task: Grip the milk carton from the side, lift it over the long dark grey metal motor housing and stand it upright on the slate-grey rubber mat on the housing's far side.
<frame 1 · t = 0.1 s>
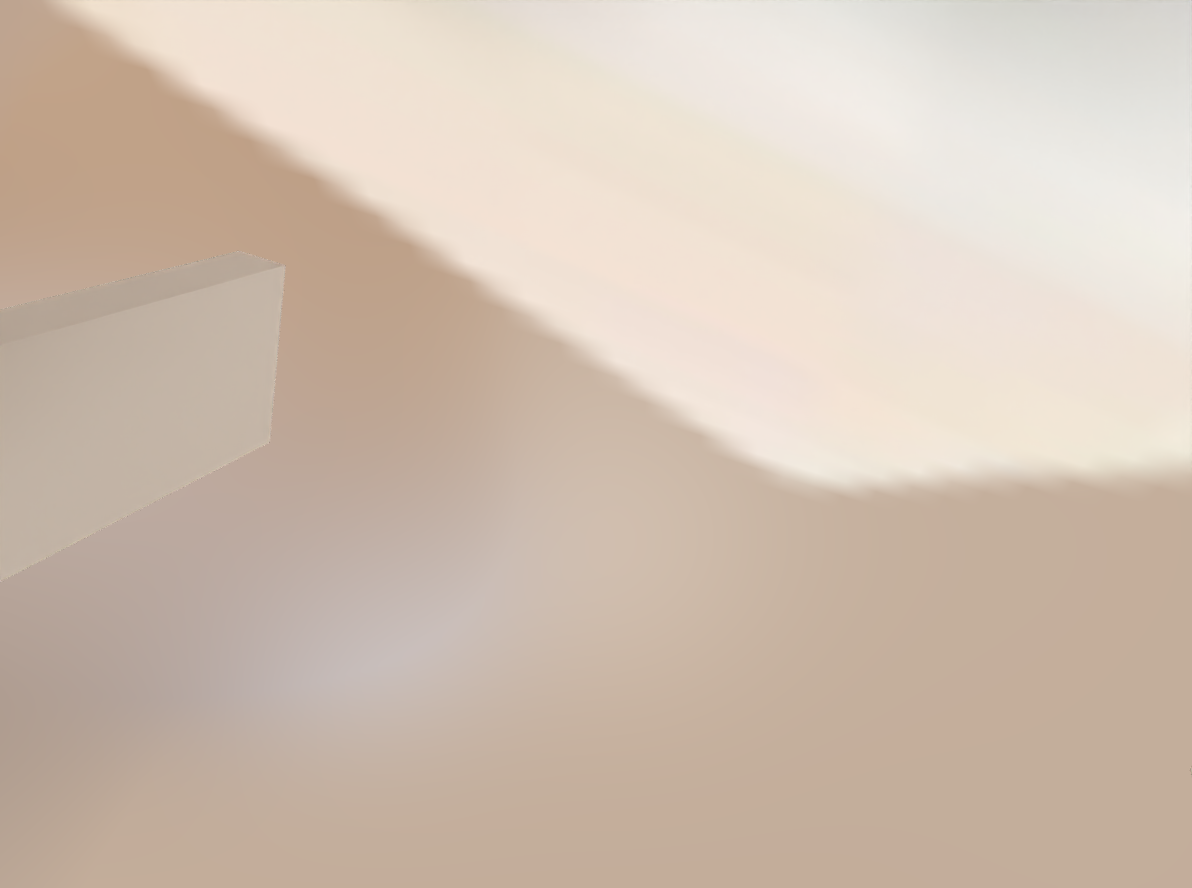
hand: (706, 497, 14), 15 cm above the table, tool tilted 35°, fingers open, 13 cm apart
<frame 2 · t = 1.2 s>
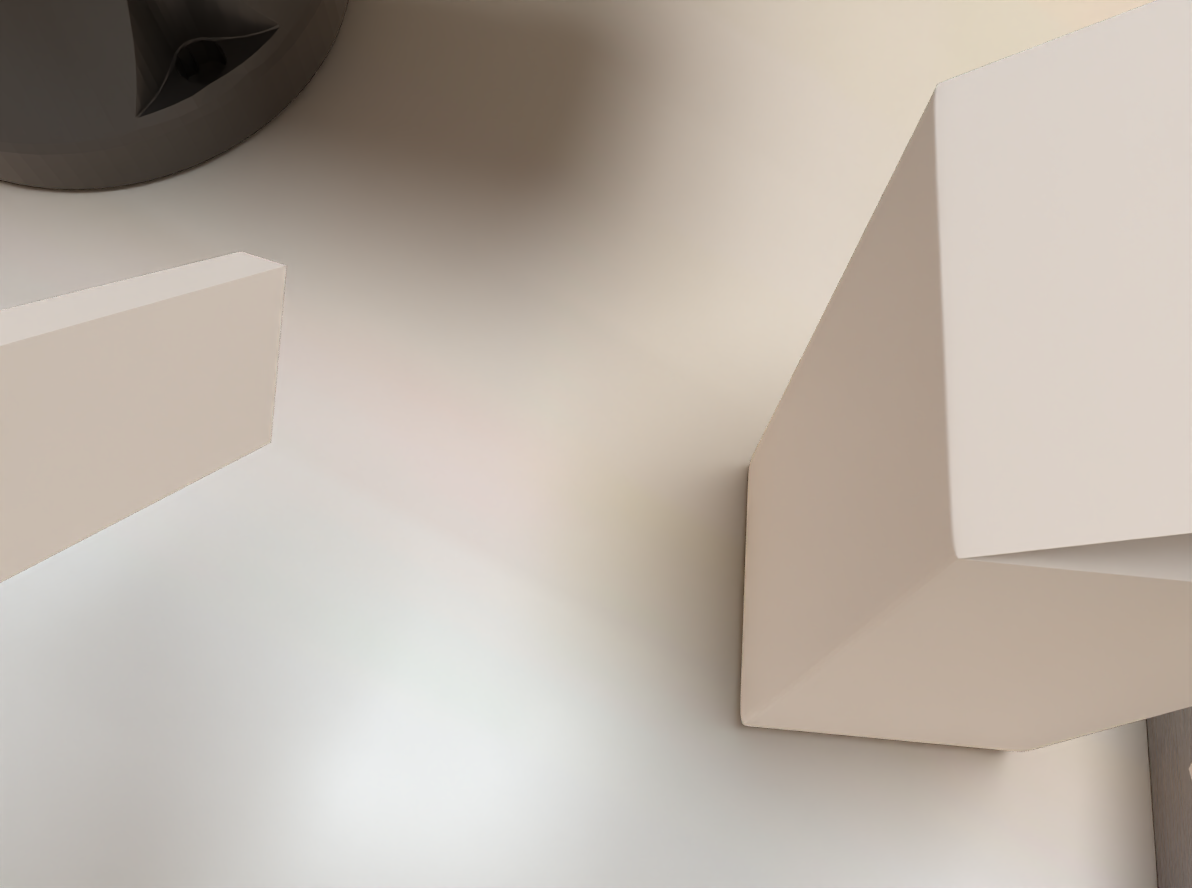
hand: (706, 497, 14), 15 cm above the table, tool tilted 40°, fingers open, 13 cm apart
milk carton: (876, 602, 28), on the table, touching gripper
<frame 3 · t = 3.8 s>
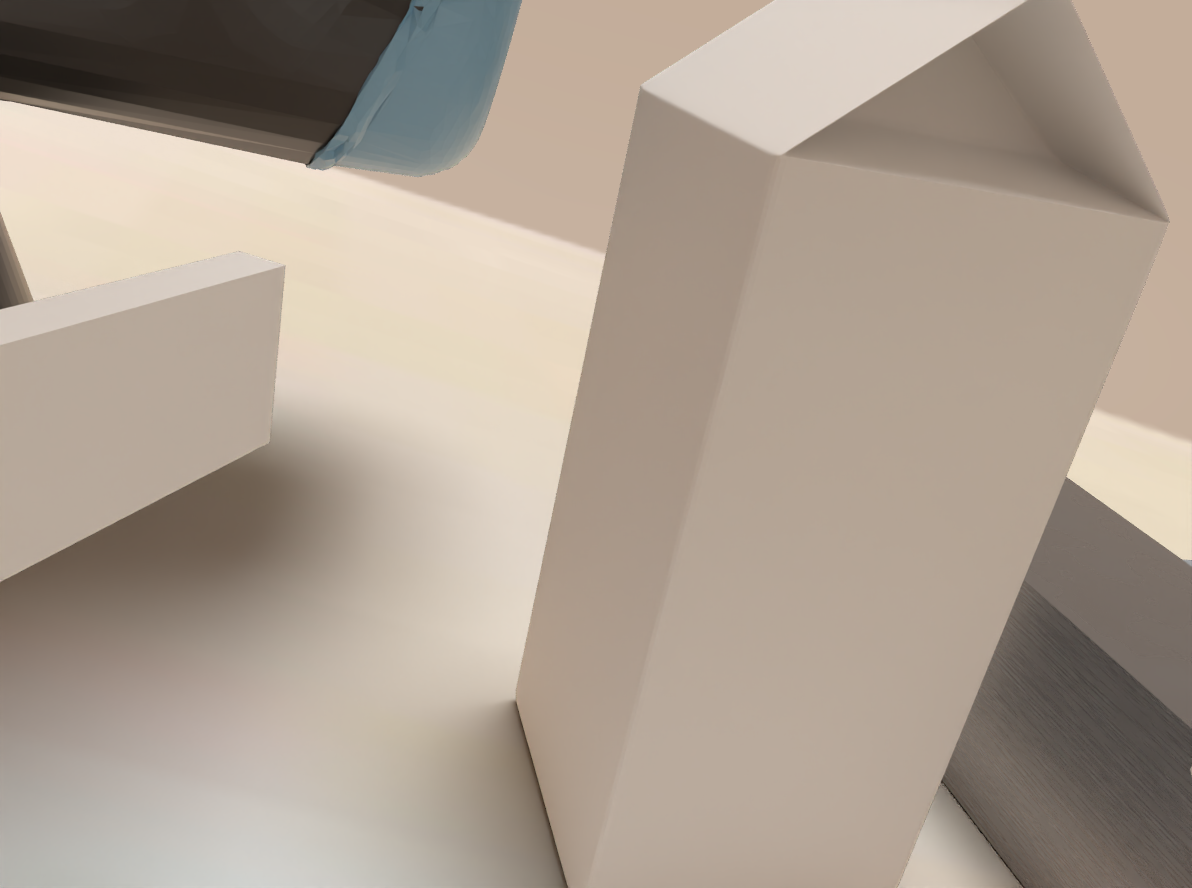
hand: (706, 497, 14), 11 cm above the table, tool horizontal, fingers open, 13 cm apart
motor housing: (981, 712, 31), on the table
milk carton: (684, 801, 25), on the table
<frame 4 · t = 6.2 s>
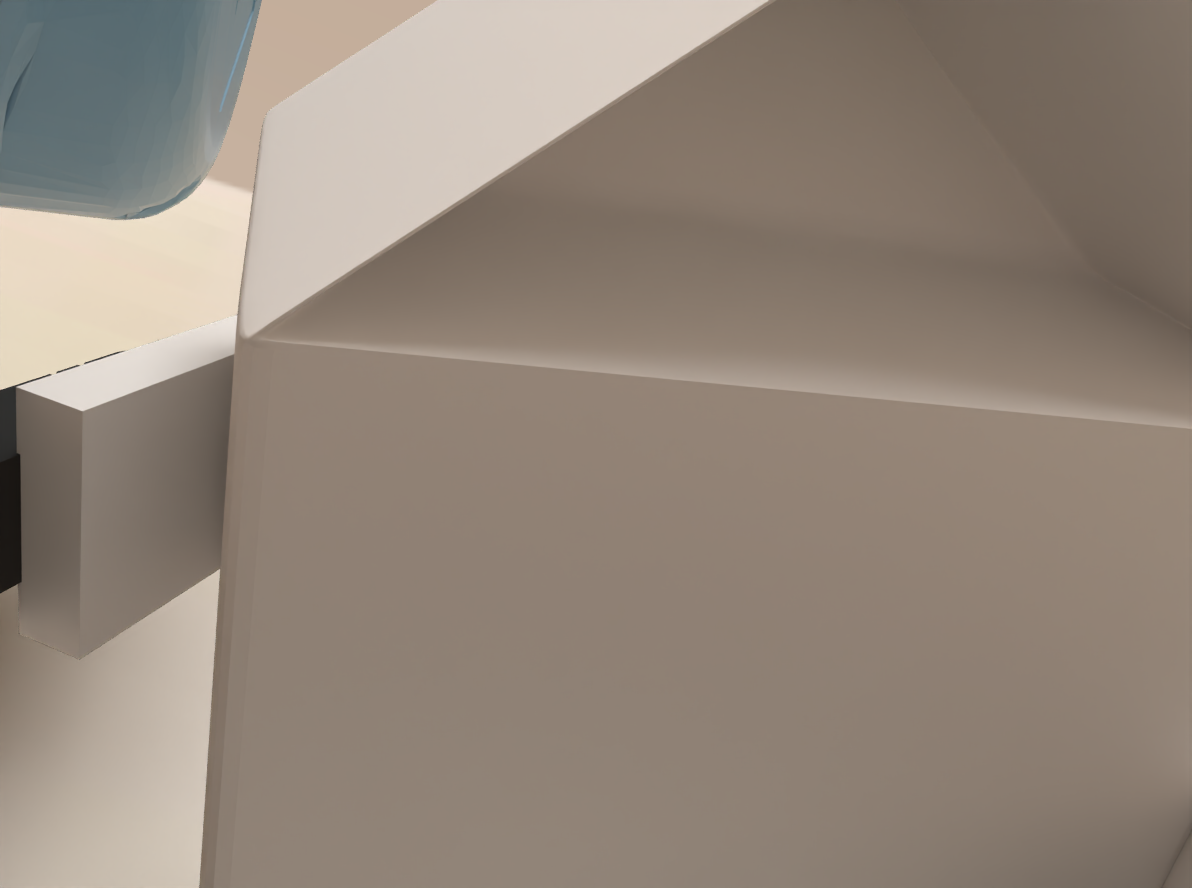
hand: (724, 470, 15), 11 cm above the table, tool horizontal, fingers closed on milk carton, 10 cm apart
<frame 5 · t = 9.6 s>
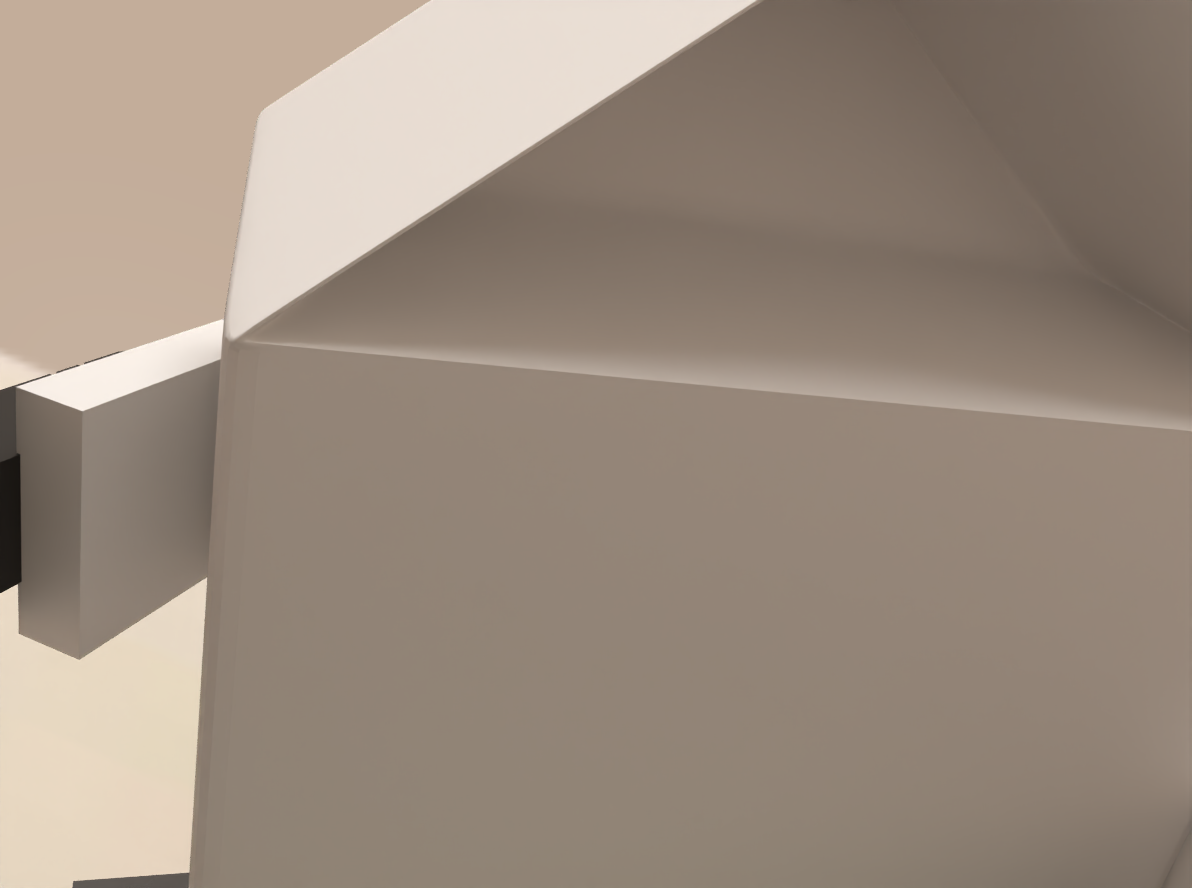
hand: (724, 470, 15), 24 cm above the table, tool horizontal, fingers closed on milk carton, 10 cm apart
when the fingers open (13 cm above the table, at t = 12.9 s): milk carton drops 1 cm, resting on slate mat.
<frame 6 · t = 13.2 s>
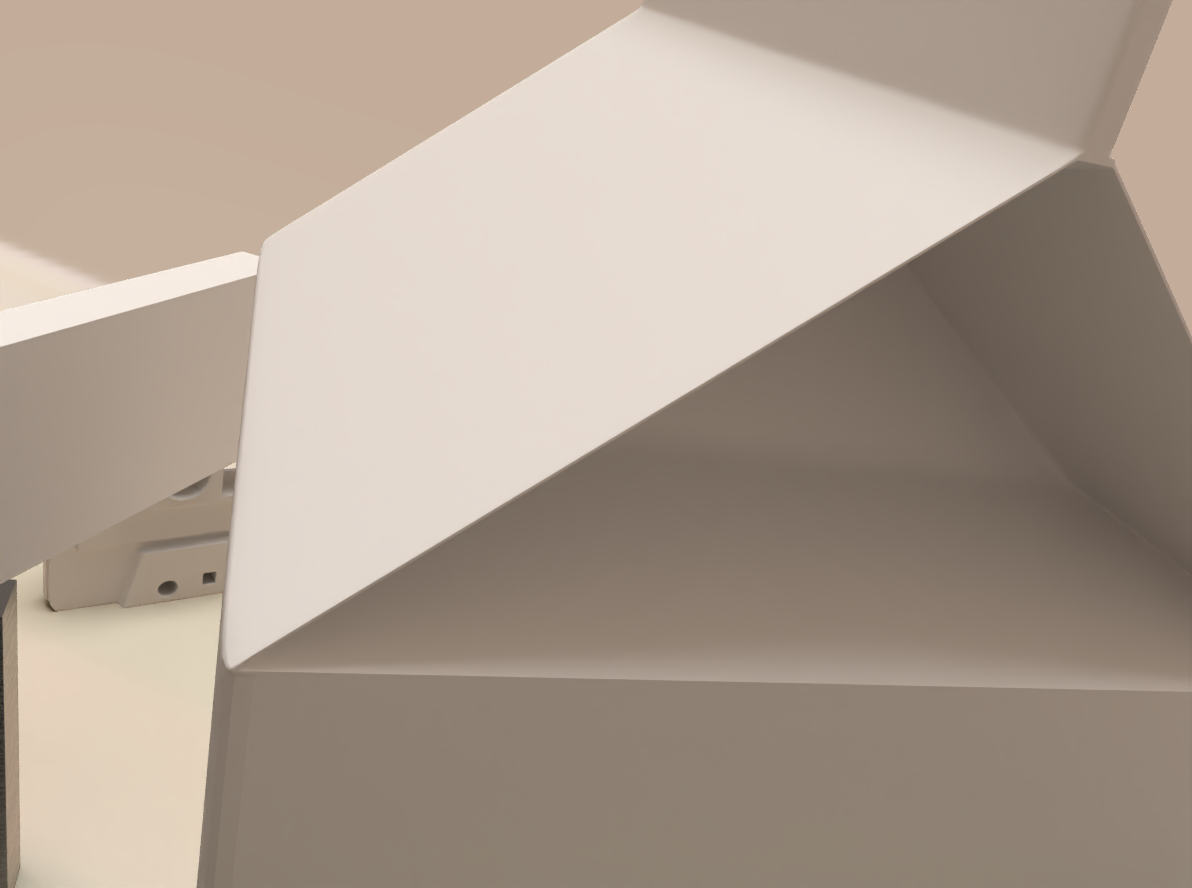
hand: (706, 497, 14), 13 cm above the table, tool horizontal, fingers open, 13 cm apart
cassette: (253, 580, 34), on the table
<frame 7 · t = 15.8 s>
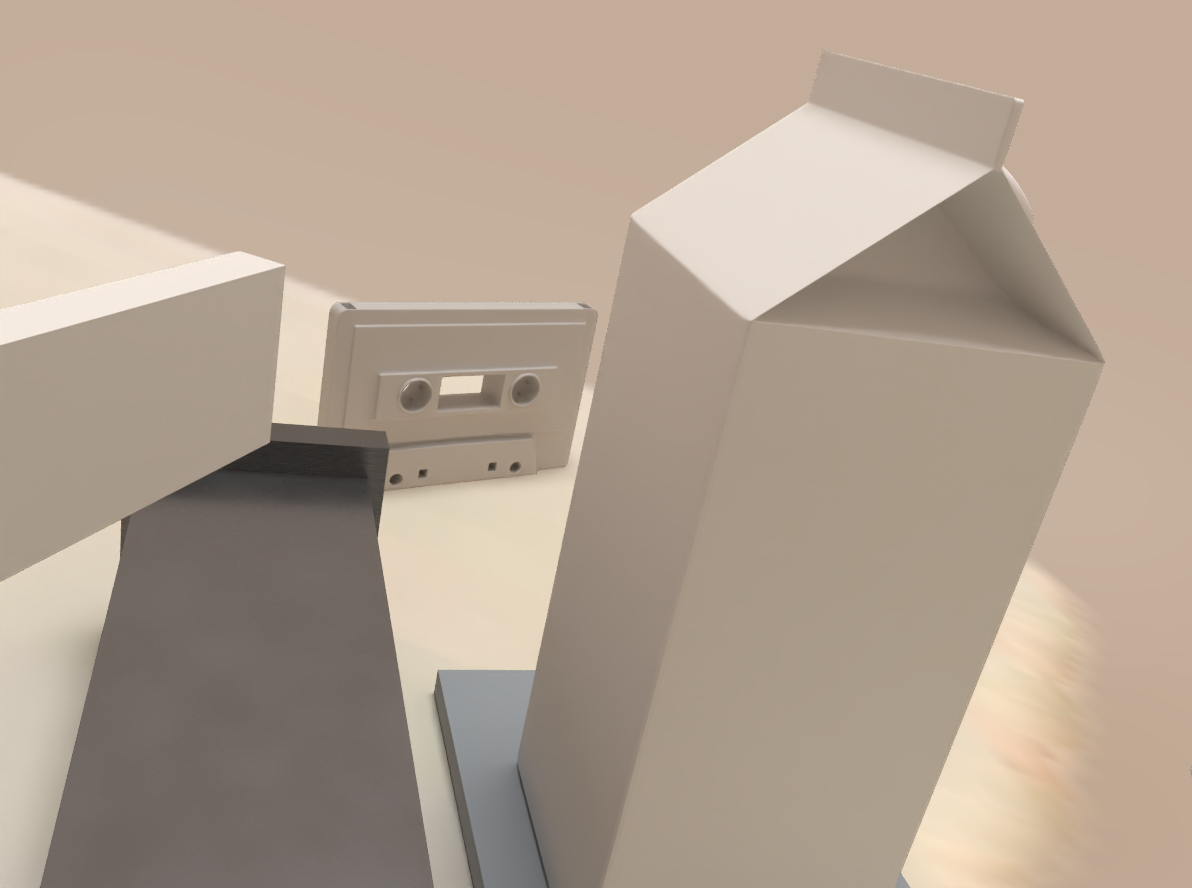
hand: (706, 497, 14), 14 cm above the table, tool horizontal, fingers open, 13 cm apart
slate mat: (678, 859, 28), on the table
milk carton: (675, 862, 27), point 1 cm above the table, touching slate mat
cassette: (447, 480, 46), on the table
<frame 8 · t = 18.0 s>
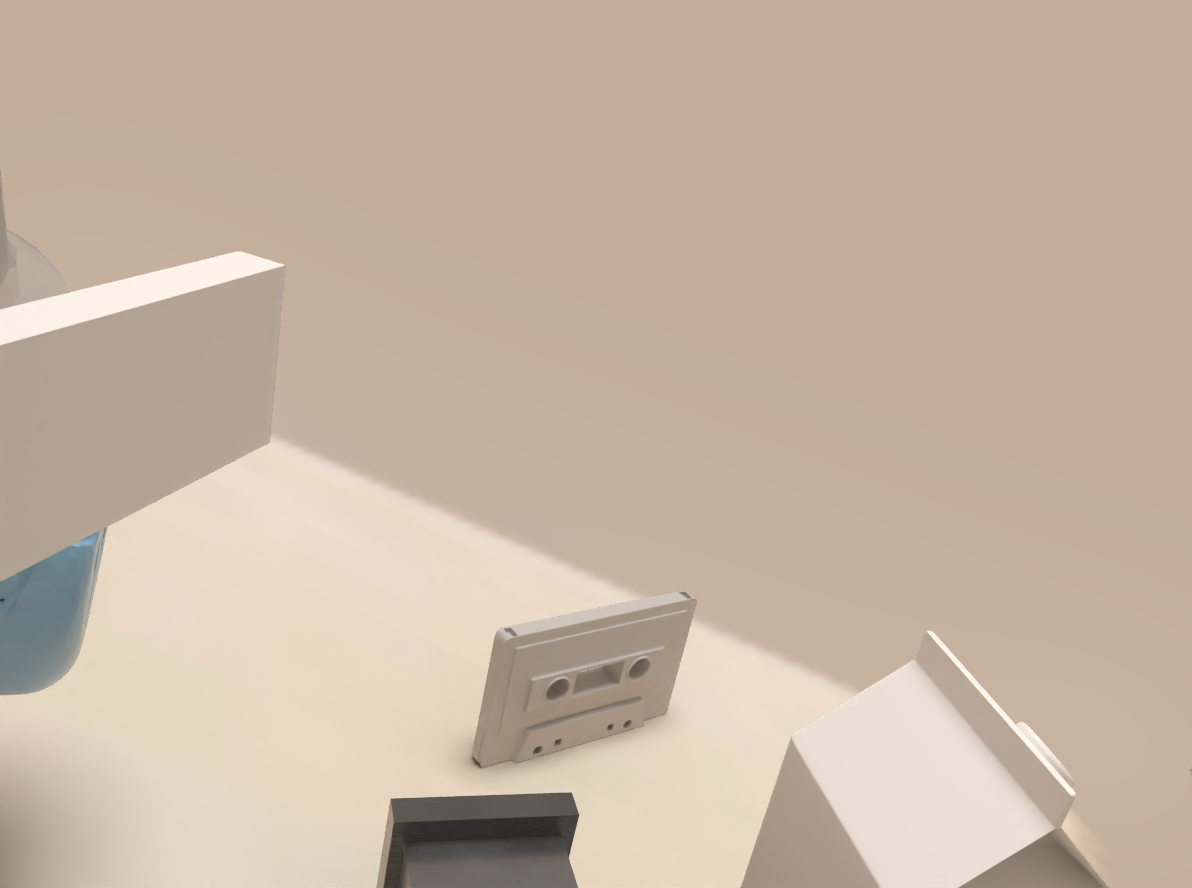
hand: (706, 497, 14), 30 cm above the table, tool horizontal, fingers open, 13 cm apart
cassette: (573, 738, 57), on the table
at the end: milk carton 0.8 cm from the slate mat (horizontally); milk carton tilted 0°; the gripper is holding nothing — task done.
